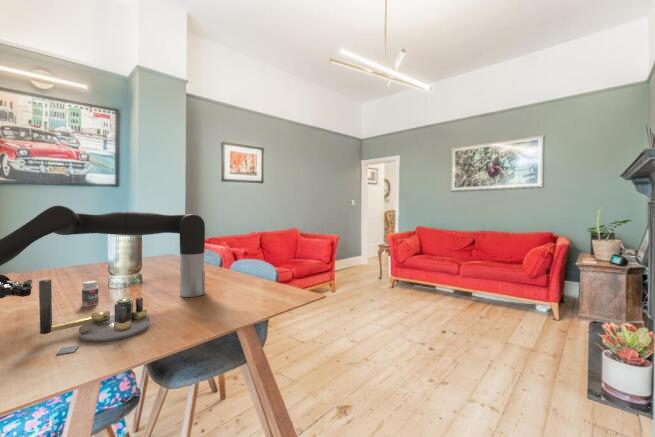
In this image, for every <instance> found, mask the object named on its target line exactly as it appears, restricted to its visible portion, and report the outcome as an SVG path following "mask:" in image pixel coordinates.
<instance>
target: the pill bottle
mask: <svg viewBox="0 0 655 437" xmlns="http://www.w3.org/2000/svg"><path fill="white" fill-rule="evenodd" d="M99 295H100V294H99V286H98V281H97V280H87V281H84V282H83V283H82V289H81V305H82V307H85V308H86V307H92V306H94V307H95V306H96V305H99V303H100V300H99V297H100V296H99Z"/></svg>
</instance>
